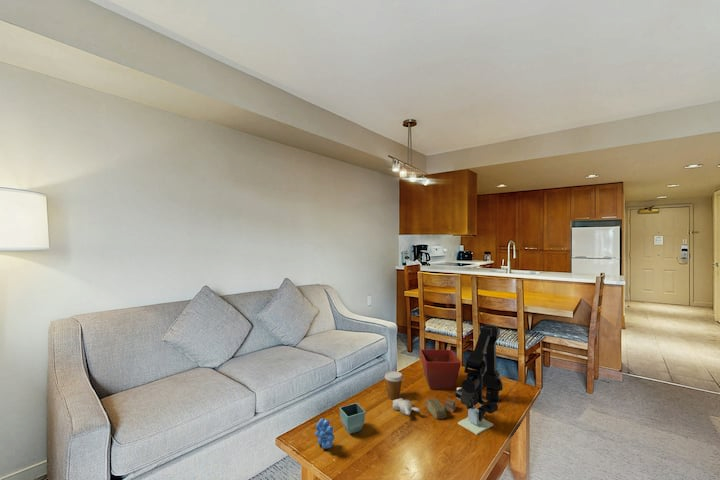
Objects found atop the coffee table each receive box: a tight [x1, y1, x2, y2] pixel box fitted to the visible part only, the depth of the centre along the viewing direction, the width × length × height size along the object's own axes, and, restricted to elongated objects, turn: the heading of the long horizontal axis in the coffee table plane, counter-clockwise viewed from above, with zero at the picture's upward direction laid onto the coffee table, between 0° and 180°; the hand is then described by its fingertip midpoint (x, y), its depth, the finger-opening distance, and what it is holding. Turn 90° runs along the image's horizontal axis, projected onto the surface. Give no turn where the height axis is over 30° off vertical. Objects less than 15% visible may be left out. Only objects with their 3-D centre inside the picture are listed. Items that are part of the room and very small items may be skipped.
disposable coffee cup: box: [384, 370, 404, 401], centre depth 171 cm, size 10×10×12 cm
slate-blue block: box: [467, 405, 484, 425], centre depth 147 cm, size 4×4×5 cm
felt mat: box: [457, 416, 494, 435], centre depth 147 cm, size 12×10×1 cm
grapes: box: [314, 417, 336, 450], centre depth 130 cm, size 12×7×12 cm, turn 41°
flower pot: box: [339, 402, 366, 435], centre depth 142 cm, size 9×9×9 cm
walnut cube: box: [444, 398, 457, 413], centre depth 159 cm, size 4×4×4 cm
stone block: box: [425, 398, 448, 420], centre depth 156 cm, size 6×12×5 cm, turn 16°
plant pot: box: [420, 349, 462, 391], centre depth 186 cm, size 19×19×17 cm
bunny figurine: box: [392, 397, 421, 416], centre depth 157 cm, size 10×5×15 cm
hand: (475, 418), depth 147 cm, fingers closed on slate-blue block, 4 cm apart
